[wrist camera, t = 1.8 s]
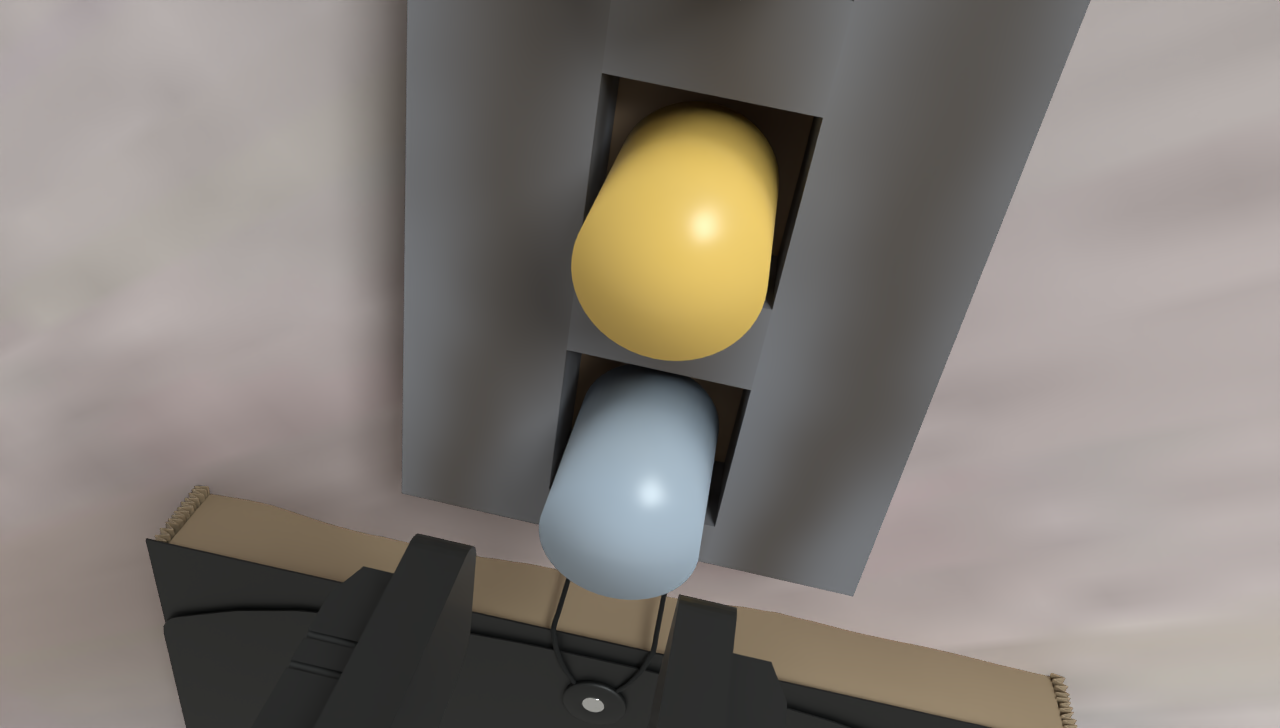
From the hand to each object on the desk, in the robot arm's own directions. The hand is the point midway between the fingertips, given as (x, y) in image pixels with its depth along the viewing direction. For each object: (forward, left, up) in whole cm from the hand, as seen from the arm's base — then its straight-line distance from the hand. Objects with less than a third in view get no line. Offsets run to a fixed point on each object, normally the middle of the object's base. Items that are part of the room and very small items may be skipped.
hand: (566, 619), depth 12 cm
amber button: (0, 0, -14) cm, 14 cm away
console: (0, 0, -17) cm, 17 cm away
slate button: (0, -8, -14) cm, 16 cm away
